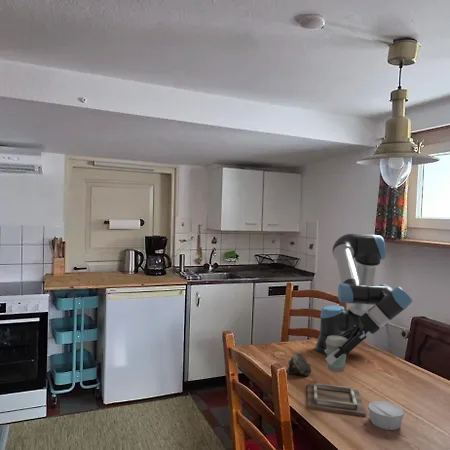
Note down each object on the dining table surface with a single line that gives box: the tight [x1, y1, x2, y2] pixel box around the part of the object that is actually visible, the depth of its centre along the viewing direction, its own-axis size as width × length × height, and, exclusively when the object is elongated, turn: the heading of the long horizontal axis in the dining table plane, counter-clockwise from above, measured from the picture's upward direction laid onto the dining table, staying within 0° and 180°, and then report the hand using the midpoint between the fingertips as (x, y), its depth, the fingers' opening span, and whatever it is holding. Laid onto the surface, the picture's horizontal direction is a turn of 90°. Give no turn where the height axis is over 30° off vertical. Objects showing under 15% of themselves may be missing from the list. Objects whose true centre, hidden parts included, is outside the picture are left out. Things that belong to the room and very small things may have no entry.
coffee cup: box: [326, 335, 347, 373], centre depth 150 cm, size 8×9×12 cm
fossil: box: [287, 352, 312, 377], centre depth 175 cm, size 11×9×10 cm
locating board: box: [306, 382, 367, 417], centre depth 150 cm, size 20×20×2 cm
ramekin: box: [367, 400, 405, 431], centre depth 134 cm, size 11×11×5 cm
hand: (327, 357), depth 151 cm, fingers closed on coffee cup, 8 cm apart
